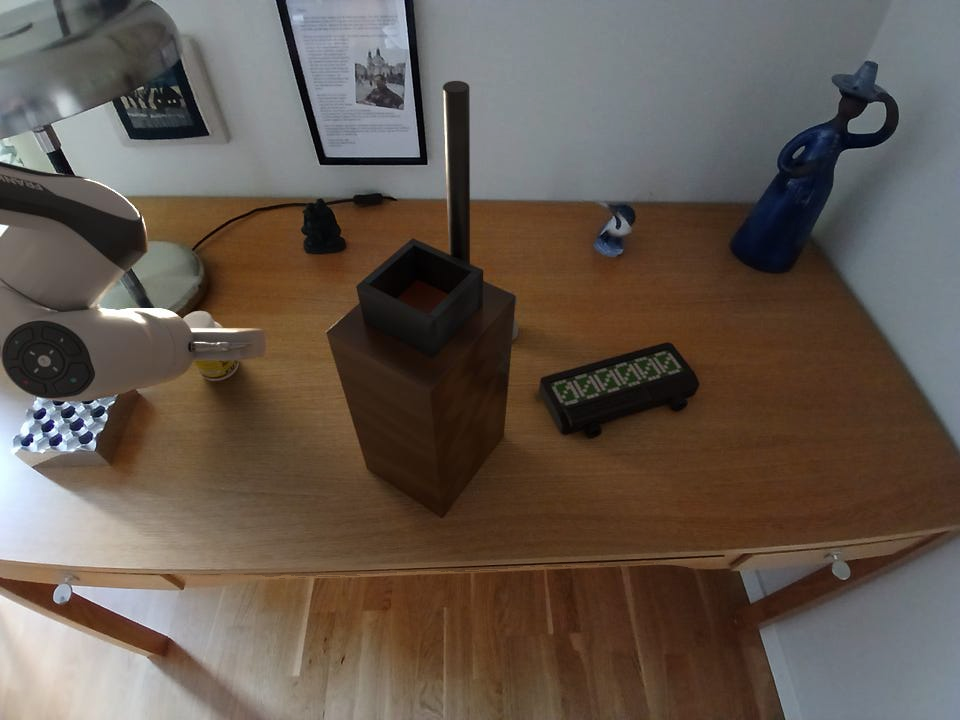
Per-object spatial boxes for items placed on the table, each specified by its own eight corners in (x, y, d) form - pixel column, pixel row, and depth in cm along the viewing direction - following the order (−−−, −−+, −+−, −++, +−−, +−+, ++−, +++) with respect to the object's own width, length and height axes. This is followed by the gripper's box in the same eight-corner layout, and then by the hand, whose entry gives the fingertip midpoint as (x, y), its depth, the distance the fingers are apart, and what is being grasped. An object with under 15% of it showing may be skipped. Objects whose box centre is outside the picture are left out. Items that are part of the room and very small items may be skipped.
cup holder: (442, 518, 67) (411, 197, 32) (366, 468, 71) (266, 136, 36) (504, 435, 75) (532, 103, 40) (432, 395, 79) (401, 61, 44)
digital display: (569, 433, 71) (538, 376, 77) (566, 446, 74) (536, 390, 80) (710, 389, 76) (670, 339, 82) (703, 403, 78) (665, 353, 84)
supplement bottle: (233, 382, 80) (209, 336, 72) (196, 381, 80) (167, 336, 72) (244, 353, 83) (221, 307, 75) (208, 353, 83) (181, 306, 75)
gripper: (240, 320, 64) (282, 317, 77) (60, 318, 63) (134, 315, 77) (242, 374, 64) (283, 362, 78) (63, 373, 64) (136, 361, 78)
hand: (207, 339), depth 78 cm, fingers open, 7 cm apart
